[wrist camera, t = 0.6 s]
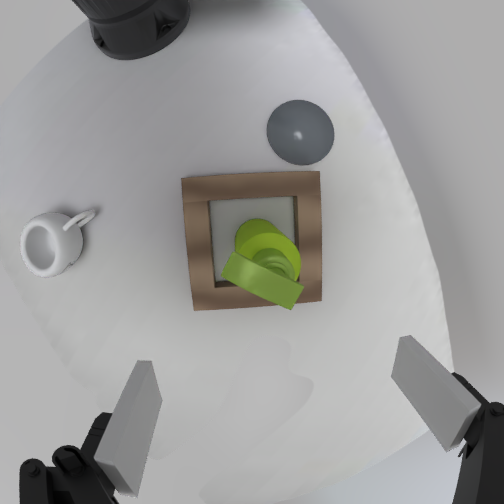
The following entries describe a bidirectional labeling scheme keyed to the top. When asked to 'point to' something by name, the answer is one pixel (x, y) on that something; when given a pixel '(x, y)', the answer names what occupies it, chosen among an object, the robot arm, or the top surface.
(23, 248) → the mug
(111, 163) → the top surface
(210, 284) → the pocket frame
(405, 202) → the top surface
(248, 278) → the soap dispenser
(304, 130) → the coaster
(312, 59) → the top surface
